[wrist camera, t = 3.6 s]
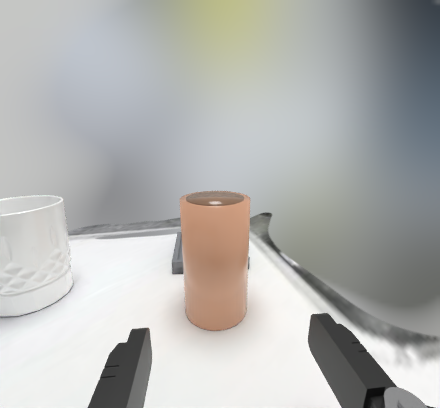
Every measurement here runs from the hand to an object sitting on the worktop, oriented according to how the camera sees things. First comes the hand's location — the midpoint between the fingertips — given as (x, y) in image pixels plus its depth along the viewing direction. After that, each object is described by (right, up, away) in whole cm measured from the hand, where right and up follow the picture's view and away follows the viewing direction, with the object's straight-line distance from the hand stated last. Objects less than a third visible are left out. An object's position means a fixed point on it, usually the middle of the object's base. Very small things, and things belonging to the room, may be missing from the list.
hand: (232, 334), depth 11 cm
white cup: (-20, -3, +13) cm, 24 cm away
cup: (-1, -4, +11) cm, 12 cm away
